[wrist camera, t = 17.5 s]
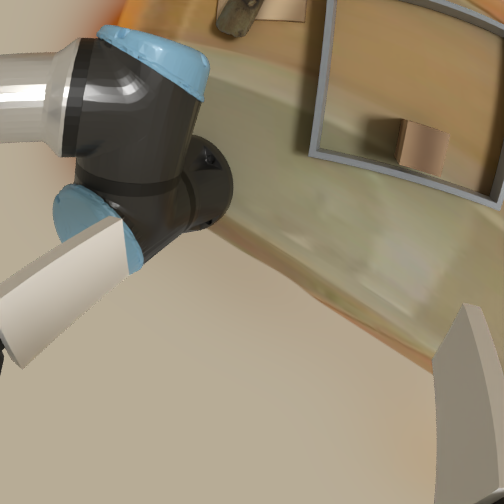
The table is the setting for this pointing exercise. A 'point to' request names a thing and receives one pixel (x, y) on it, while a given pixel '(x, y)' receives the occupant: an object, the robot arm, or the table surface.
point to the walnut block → (421, 147)
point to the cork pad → (276, 10)
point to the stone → (238, 16)
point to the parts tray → (500, 188)
